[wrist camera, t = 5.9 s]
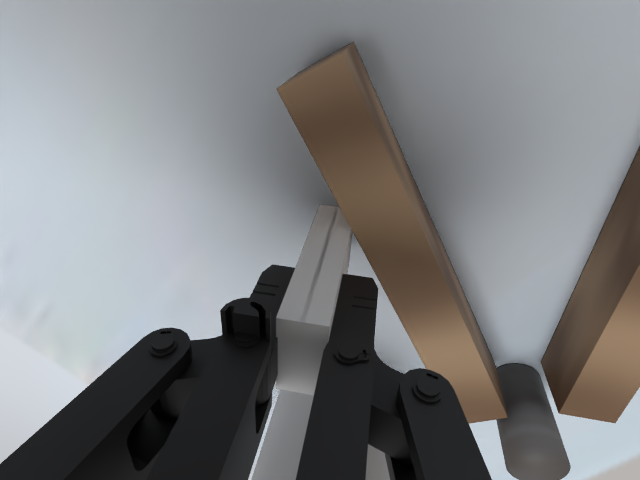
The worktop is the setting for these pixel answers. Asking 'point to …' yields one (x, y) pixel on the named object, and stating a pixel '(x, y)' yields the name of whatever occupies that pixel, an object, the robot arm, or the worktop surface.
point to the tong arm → (392, 223)
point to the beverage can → (298, 442)
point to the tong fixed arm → (582, 350)
